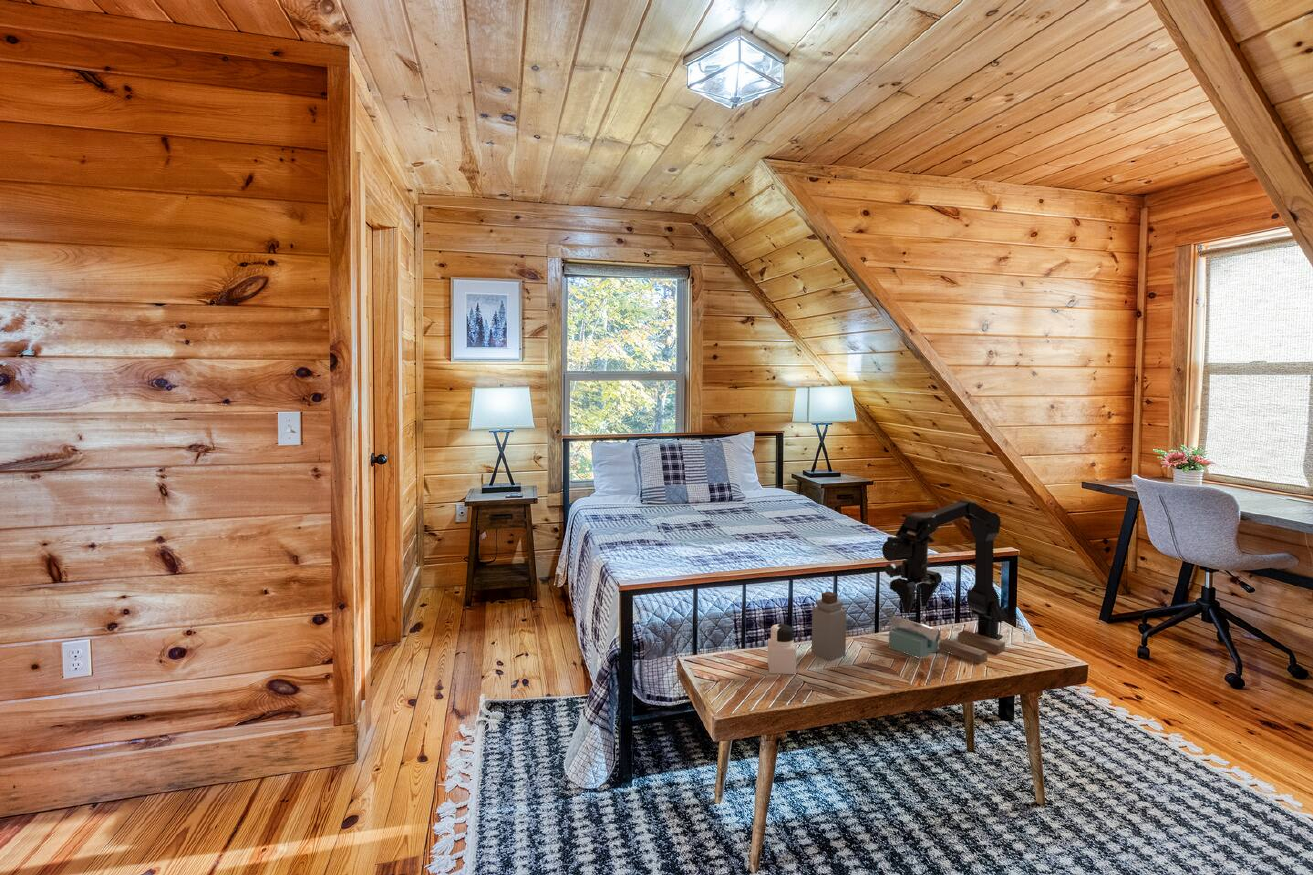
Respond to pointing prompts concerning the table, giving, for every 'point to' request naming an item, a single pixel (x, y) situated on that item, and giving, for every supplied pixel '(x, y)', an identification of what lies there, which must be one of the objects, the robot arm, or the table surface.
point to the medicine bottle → (781, 650)
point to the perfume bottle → (829, 628)
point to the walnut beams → (970, 651)
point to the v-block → (911, 643)
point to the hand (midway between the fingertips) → (915, 609)
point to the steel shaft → (915, 628)
